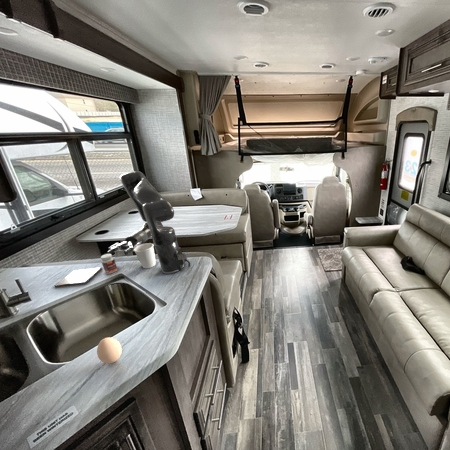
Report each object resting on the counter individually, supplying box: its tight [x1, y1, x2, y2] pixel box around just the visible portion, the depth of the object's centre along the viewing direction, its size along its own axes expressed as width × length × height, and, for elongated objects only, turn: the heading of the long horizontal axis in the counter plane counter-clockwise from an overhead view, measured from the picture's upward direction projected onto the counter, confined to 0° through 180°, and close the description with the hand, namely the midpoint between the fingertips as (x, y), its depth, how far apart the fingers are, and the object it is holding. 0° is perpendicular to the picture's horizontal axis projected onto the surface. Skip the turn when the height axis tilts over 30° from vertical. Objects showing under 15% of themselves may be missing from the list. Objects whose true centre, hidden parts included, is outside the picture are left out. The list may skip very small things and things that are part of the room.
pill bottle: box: [100, 253, 118, 275], centre depth 113 cm, size 5×5×8 cm
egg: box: [96, 337, 123, 364], centre depth 68 cm, size 5×5×8 cm
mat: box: [53, 267, 103, 288], centre depth 110 cm, size 12×12×1 cm
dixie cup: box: [133, 242, 157, 269], centre depth 117 cm, size 8×8×10 cm
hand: (116, 253), depth 118 cm, fingers open, 8 cm apart
